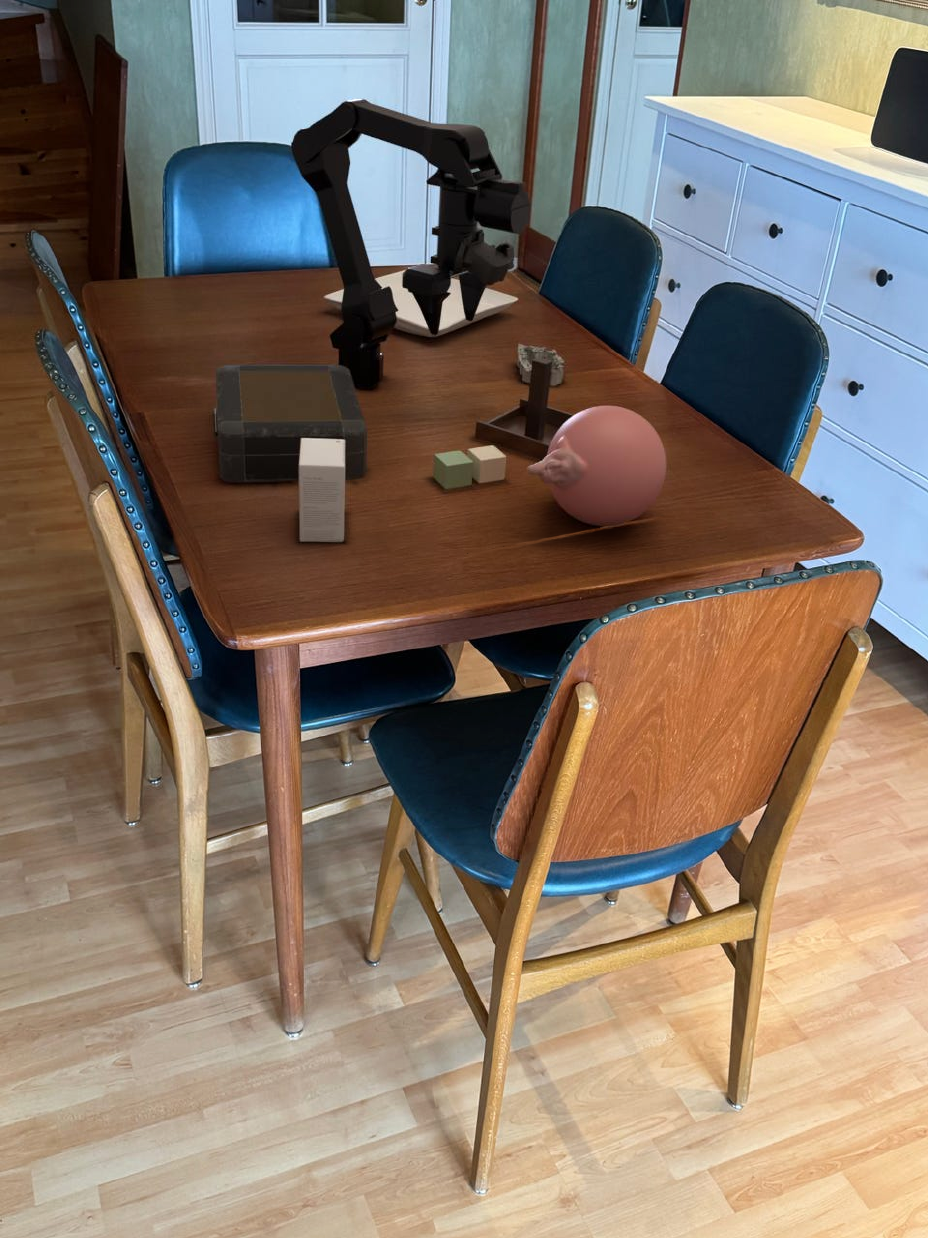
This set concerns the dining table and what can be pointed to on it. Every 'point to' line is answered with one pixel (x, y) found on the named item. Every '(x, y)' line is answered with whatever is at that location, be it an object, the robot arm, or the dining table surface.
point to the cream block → (487, 463)
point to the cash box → (284, 419)
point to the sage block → (452, 469)
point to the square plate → (451, 307)
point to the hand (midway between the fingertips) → (451, 327)
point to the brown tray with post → (527, 418)
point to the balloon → (604, 466)
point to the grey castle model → (532, 352)
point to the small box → (321, 490)
